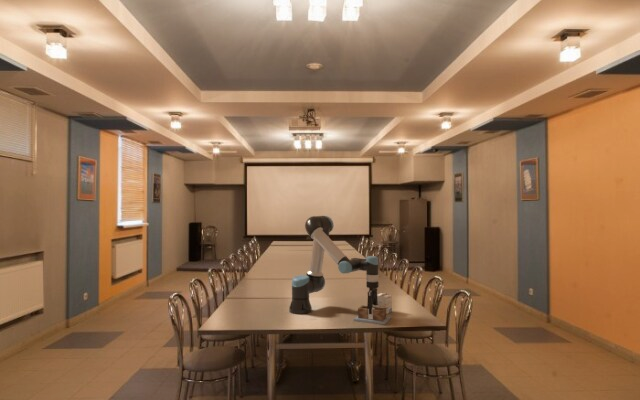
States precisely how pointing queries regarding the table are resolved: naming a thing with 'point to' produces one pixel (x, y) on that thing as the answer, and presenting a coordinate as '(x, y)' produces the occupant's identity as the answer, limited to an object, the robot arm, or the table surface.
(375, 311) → the hollow block
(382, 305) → the ink box
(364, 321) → the post board
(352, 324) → the table surface
